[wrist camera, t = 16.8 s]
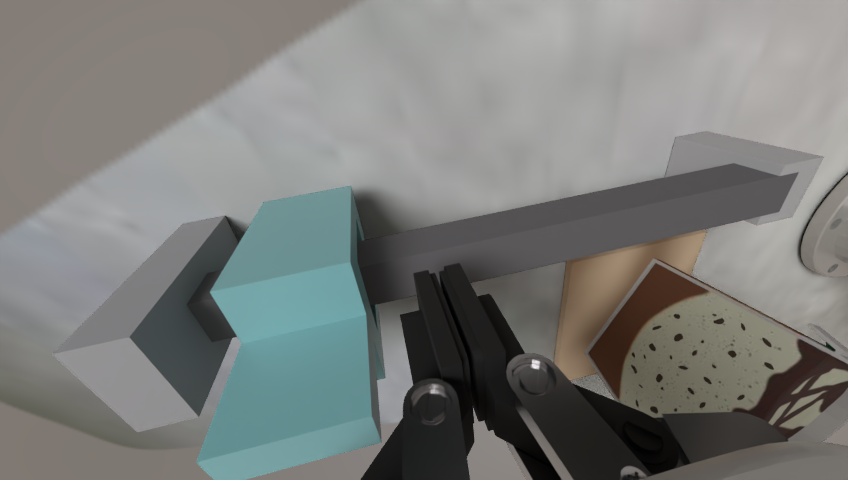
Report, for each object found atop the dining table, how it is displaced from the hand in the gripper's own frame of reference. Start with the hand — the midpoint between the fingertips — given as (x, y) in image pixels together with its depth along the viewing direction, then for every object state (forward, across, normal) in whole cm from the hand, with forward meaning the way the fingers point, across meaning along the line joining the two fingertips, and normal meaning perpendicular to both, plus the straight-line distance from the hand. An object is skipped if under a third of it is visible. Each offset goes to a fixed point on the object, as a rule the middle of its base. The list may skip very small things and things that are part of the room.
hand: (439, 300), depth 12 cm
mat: (+7, -15, +12) cm, 21 cm away
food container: (+7, -17, +12) cm, 22 cm away
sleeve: (+6, +5, 0) cm, 8 cm away
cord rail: (+7, -4, 0) cm, 8 cm away
